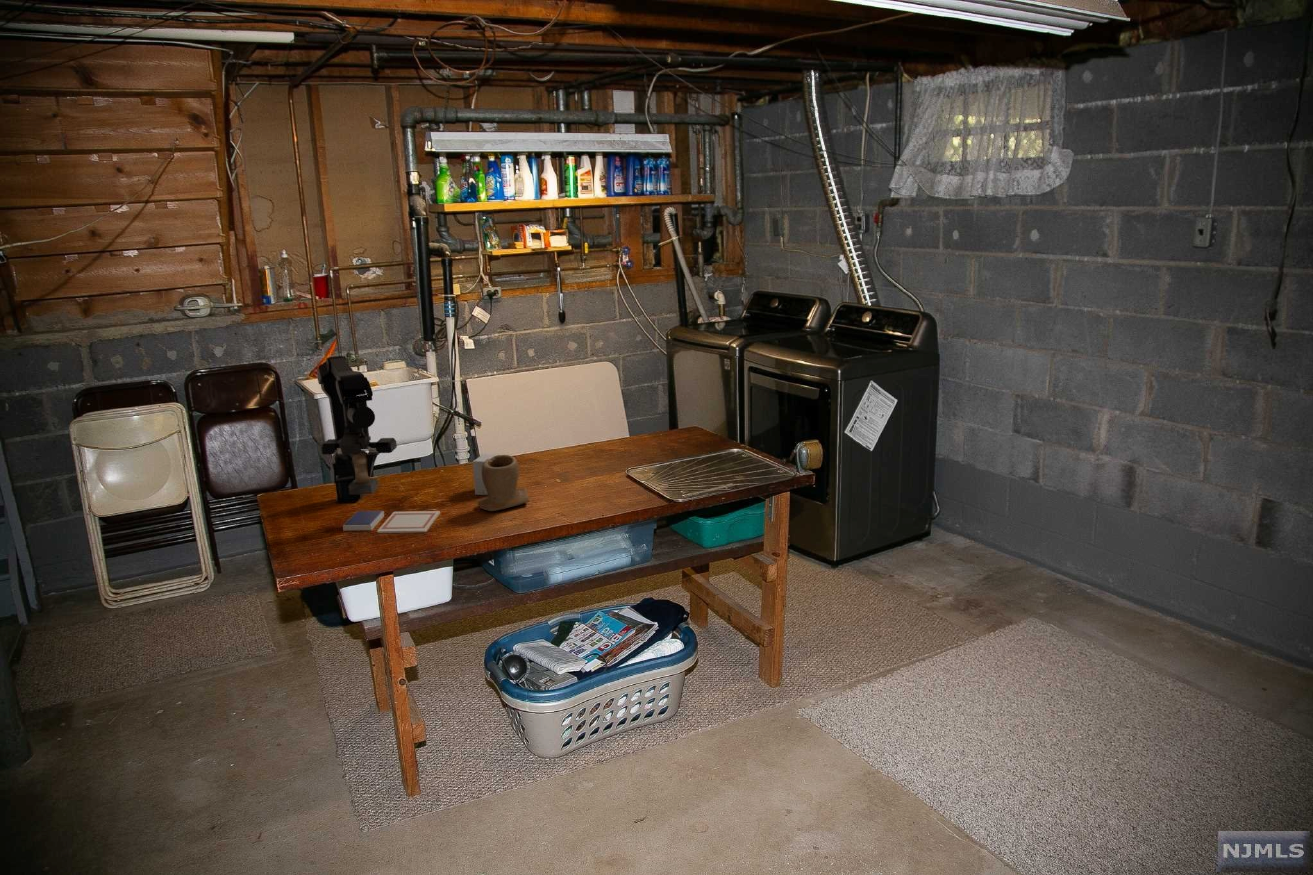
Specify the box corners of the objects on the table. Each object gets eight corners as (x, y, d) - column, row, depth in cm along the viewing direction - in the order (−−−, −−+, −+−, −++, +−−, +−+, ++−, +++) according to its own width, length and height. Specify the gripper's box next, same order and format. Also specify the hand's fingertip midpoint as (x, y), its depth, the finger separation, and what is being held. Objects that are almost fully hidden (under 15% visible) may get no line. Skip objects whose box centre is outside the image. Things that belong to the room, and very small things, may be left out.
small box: (492, 495, 268) (489, 461, 265) (474, 495, 269) (471, 461, 267) (502, 487, 276) (499, 454, 273) (484, 486, 277) (482, 453, 274)
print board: (377, 532, 241) (376, 530, 241) (394, 513, 255) (393, 511, 255) (425, 532, 241) (425, 530, 240) (440, 512, 255) (439, 510, 255)
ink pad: (343, 530, 243) (342, 524, 243) (357, 516, 254) (356, 510, 253) (371, 530, 243) (370, 524, 242) (384, 515, 253) (383, 510, 253)
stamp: (349, 494, 244) (344, 453, 241) (356, 487, 249) (352, 447, 246) (371, 494, 244) (367, 453, 241) (378, 487, 249) (374, 446, 246)
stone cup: (490, 518, 250) (486, 466, 246) (473, 506, 260) (469, 456, 256) (539, 506, 258) (536, 456, 254) (522, 495, 268) (518, 447, 264)
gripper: (310, 429, 234) (317, 486, 238) (382, 427, 234) (388, 485, 238) (325, 418, 244) (332, 474, 249) (394, 417, 244) (400, 472, 248)
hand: (362, 476), depth 246 cm, fingers closed on stamp, 4 cm apart
